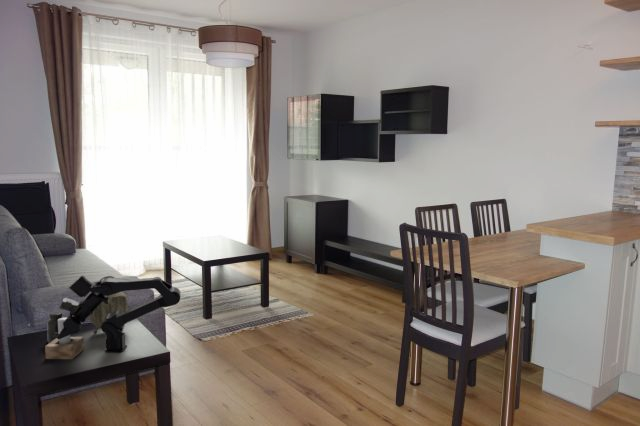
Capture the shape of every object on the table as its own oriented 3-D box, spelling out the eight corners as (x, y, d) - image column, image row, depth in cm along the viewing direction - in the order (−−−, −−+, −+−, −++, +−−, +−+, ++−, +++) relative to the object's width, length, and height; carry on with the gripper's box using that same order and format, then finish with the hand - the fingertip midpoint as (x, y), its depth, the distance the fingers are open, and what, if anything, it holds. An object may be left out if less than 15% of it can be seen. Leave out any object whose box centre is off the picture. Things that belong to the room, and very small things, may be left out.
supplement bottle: (58, 344, 210) (56, 316, 208) (44, 343, 211) (42, 315, 209) (70, 338, 216) (68, 310, 215) (55, 337, 218) (54, 309, 216)
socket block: (84, 348, 206) (83, 336, 205) (71, 359, 196) (71, 346, 195) (59, 348, 206) (58, 336, 205) (45, 358, 196) (45, 346, 195)
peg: (73, 350, 201) (71, 318, 199) (63, 354, 198) (61, 321, 196) (67, 348, 203) (65, 316, 202) (57, 351, 200) (55, 319, 198)
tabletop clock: (122, 325, 232) (120, 271, 228) (130, 331, 225) (128, 275, 222) (89, 333, 222) (86, 277, 218) (97, 339, 215) (94, 281, 212)
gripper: (77, 285, 207) (48, 313, 206) (68, 298, 189) (36, 329, 188) (99, 302, 210) (71, 330, 209) (92, 317, 193) (61, 348, 191)
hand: (60, 334), depth 199 cm, fingers open, 9 cm apart
